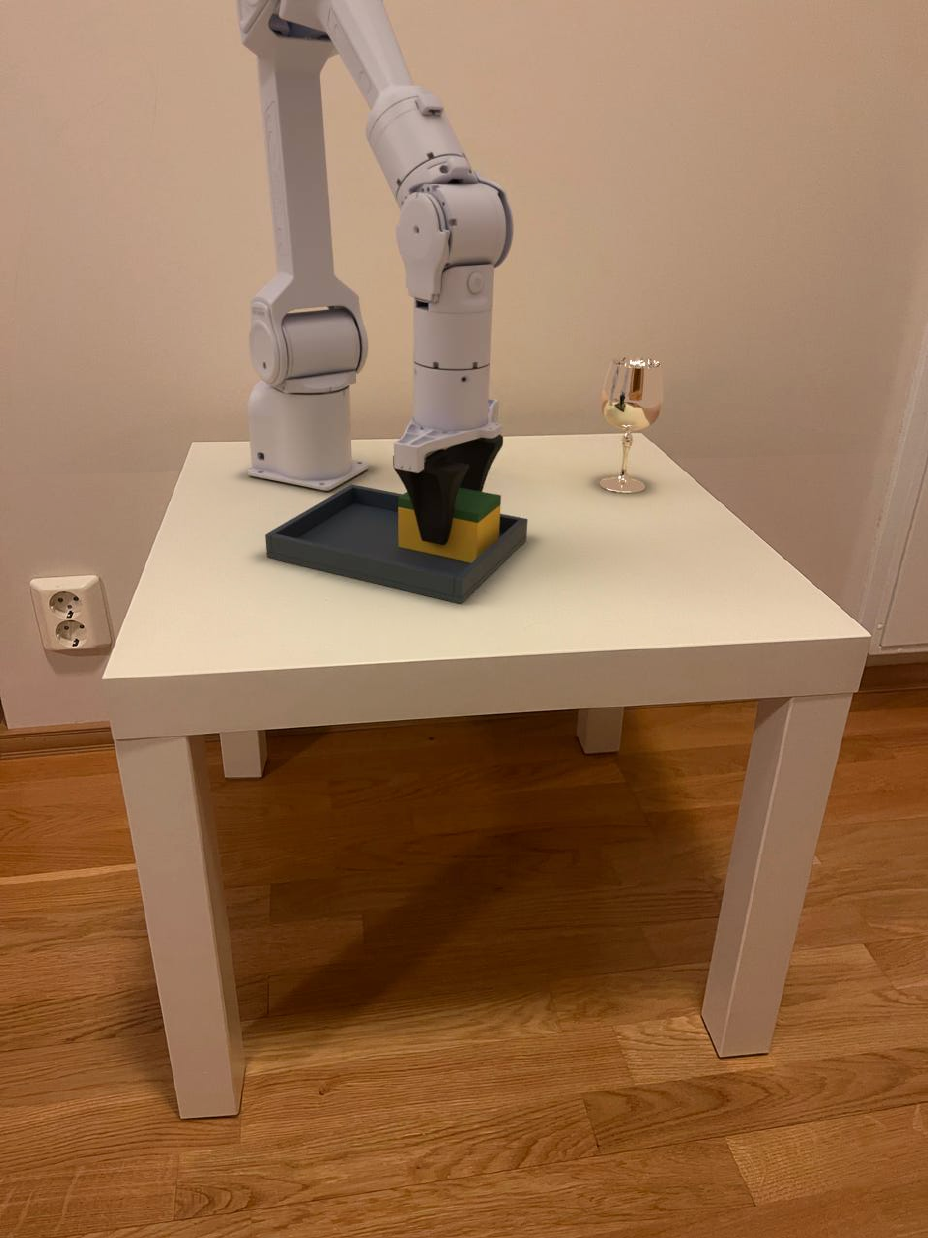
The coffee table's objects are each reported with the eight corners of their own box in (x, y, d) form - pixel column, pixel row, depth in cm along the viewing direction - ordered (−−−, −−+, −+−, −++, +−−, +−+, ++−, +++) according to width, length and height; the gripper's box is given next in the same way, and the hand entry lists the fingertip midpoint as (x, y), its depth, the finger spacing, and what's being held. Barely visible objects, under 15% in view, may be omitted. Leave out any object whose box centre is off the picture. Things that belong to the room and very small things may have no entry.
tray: (266, 557, 73) (264, 534, 72) (351, 504, 83) (351, 483, 82) (461, 604, 67) (461, 579, 66) (526, 540, 77) (527, 518, 76)
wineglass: (655, 480, 92) (672, 359, 86) (646, 498, 87) (663, 372, 81) (599, 472, 93) (611, 353, 87) (587, 490, 88) (599, 365, 83)
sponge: (398, 547, 74) (398, 497, 72) (423, 528, 78) (423, 480, 76) (476, 564, 71) (478, 513, 69) (498, 544, 75) (501, 495, 73)
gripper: (459, 389, 60) (454, 574, 67) (536, 349, 72) (526, 510, 78) (366, 376, 63) (370, 555, 69) (456, 339, 74) (452, 496, 81)
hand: (448, 530), depth 74 cm, fingers closed on sponge, 4 cm apart
